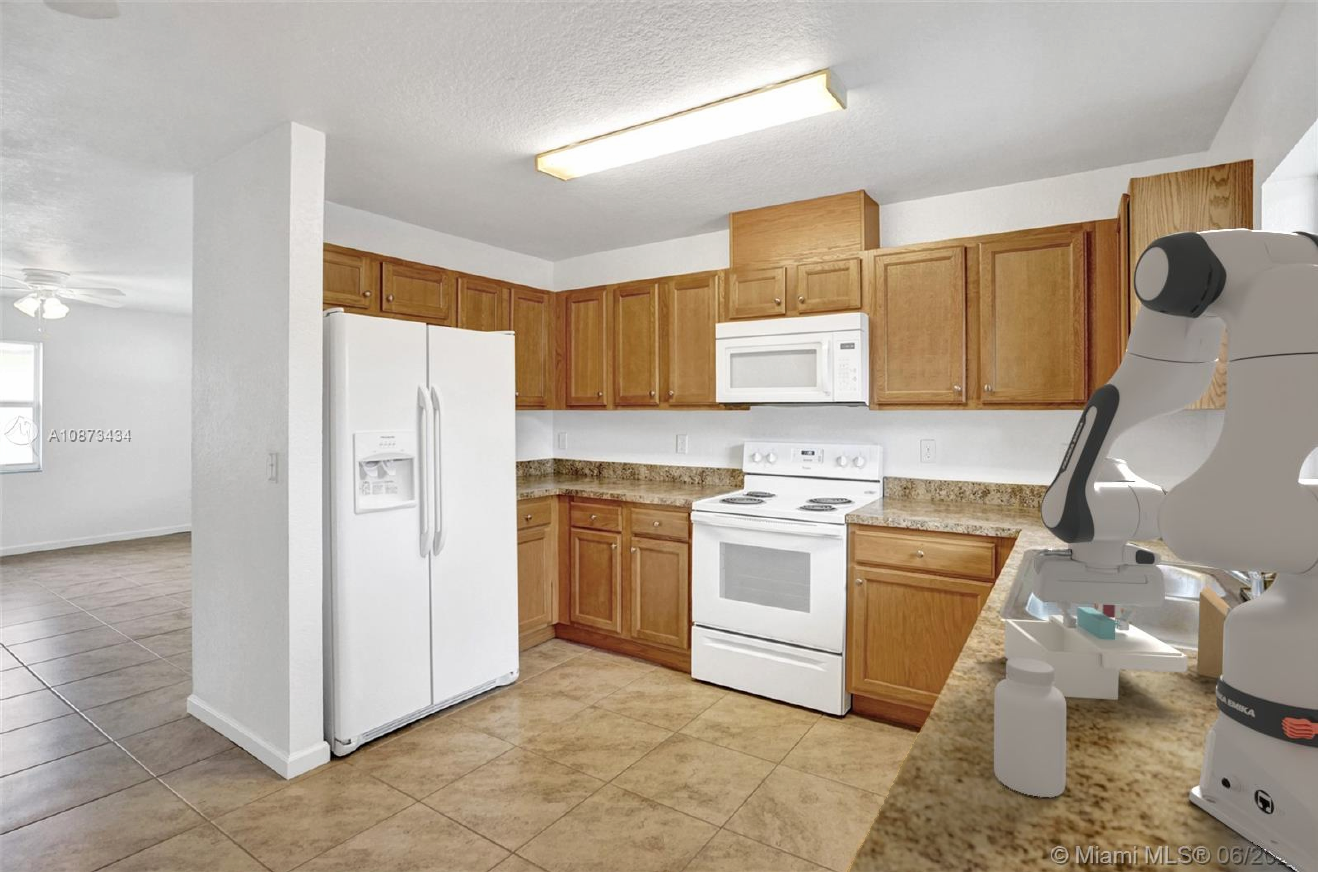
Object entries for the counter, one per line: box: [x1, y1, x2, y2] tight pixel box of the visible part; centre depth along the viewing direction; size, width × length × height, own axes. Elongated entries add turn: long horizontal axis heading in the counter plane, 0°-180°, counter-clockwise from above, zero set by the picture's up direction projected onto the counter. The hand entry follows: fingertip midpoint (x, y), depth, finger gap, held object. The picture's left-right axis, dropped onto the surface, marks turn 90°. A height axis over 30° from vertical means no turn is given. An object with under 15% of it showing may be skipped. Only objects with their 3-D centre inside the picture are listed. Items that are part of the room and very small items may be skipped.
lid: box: [1048, 606, 1188, 673], centre depth 117 cm, size 20×13×6 cm, turn 172°
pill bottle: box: [993, 658, 1067, 798], centre depth 84 cm, size 8×8×15 cm
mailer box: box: [1004, 618, 1120, 701], centre depth 118 cm, size 18×11×7 cm, turn 172°
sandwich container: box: [1196, 584, 1234, 680], centre depth 117 cm, size 9×15×15 cm, turn 45°
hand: (1095, 628), depth 117 cm, fingers open, 7 cm apart
